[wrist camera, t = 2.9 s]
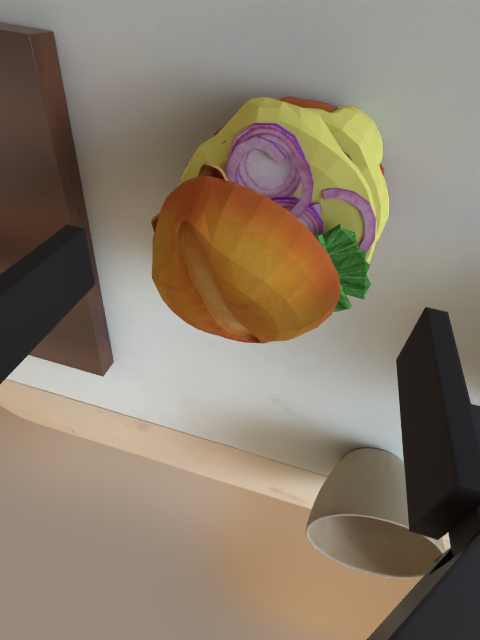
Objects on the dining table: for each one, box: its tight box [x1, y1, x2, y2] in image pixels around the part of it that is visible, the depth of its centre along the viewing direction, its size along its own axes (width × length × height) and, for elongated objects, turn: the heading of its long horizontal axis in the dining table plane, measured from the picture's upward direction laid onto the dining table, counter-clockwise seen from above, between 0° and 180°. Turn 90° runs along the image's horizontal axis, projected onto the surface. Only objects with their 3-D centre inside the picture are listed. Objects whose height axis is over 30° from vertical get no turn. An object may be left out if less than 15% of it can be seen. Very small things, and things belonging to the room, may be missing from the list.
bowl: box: [306, 448, 446, 579], centre depth 31 cm, size 10×10×7 cm
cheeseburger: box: [151, 97, 389, 343], centre depth 18 cm, size 10×11×10 cm
